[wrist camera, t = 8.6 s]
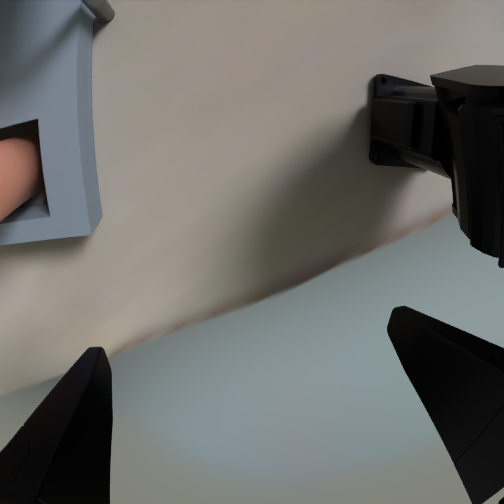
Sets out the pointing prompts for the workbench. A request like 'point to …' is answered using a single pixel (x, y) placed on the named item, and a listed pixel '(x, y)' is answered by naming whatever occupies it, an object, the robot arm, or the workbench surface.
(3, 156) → the peg
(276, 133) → the workbench surface
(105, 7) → the awning
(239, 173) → the workbench surface
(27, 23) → the socket board
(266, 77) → the workbench surface
